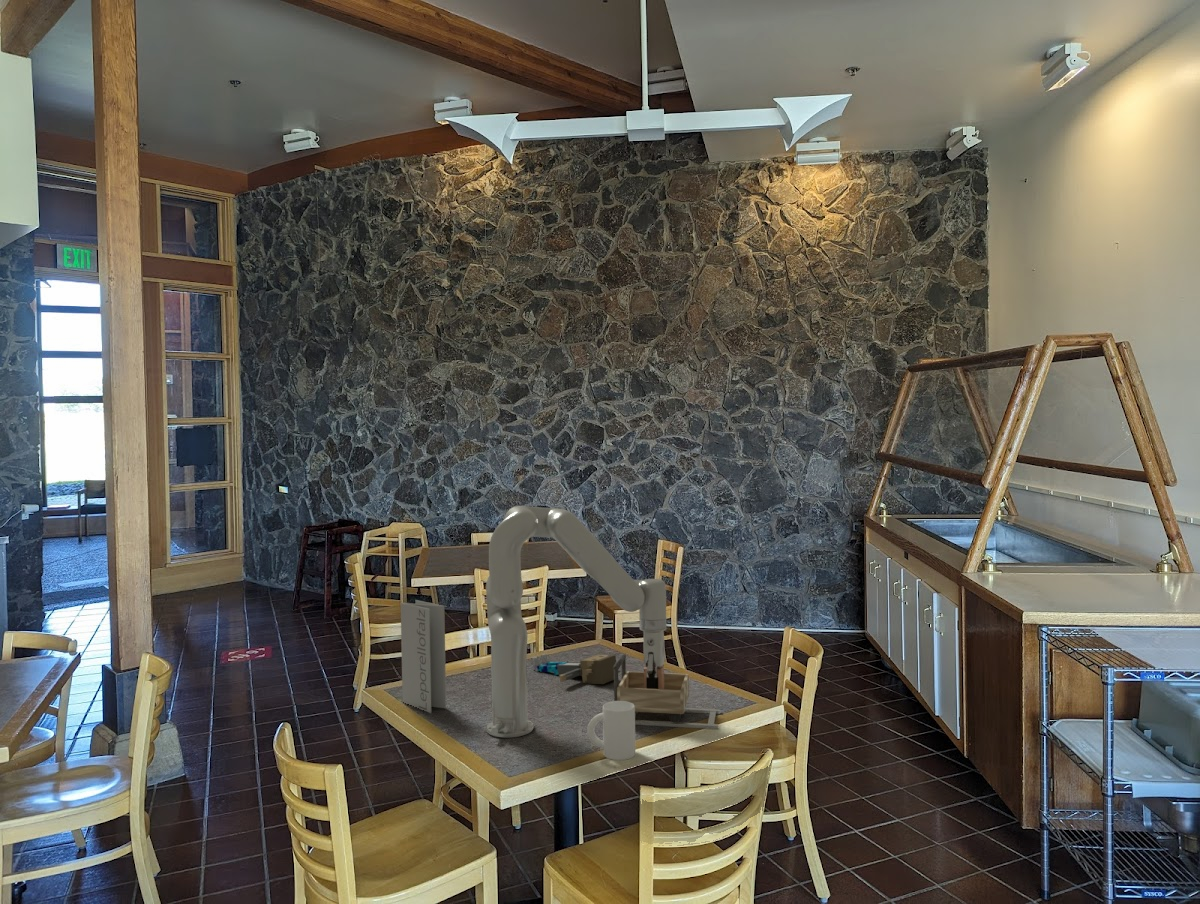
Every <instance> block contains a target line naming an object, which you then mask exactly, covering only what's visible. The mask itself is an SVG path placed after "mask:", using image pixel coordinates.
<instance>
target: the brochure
mask: <svg viewBox="0 0 1200 904" xmlns="http://www.w3.org/2000/svg"><path fill="white" fill-rule="evenodd" d="M445 621H446V620H445V605H441V604H436V603H432V602H426V601H423V600H420V599H419V600H418V599H415V603H412V602H411V603H410V602H400V629H401V630H400V638H401V639H400V640H401V642H400V644H401V646H400V647H401V681H402V682H401V683H402V684H401V685H402V687H401V688H402V694H401V695H402V703H403V702H404V703H403V704H405V703H406V704H405V705H407V704H409V705H408V706H410V705H412V706H411V707H413V706H414V707H413V708H415V707H417V708H416V709H418V708H419V709H418V710H421V711H423V710H424V712H427V713H429V714H432V708H439V709H447V678H446V677H447V676H446V675H447V673H446V631H445V629H446V626H445V625H446V624H445V623H446V622H445Z"/></svg>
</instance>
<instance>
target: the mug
mask: <svg viewBox="0 0 1200 904" xmlns="http://www.w3.org/2000/svg"><path fill="white" fill-rule="evenodd" d="M635 720H636V717H635V706H634V704H633V703H630V702H627V701H614V700H611V701H608V702H607V701H606V702H605V703H604V704H603V705H602V712H600V713H598V714H596V715H594V716H593V717H592V718H591V719H590V720H589V722H588V724H587V726H586V727H587V728H586V734H587V737H588V739H589V741H590V742H591V743H592V744H593V746H596V747H597V748H600V749H602V751H603V753H602V754H603V756H604V757H605V758H606V759H609V760H612V761H613V760H614V761H624V760H625V761H626V760H629V759H632V758H634V757H635V756H636V725H635ZM601 721H602V739H600V738H599V737H598V735H596V732H595V730H596V729H595V728H596V727H597V725H598V723H601Z"/></svg>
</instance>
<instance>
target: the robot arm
mask: <svg viewBox="0 0 1200 904" xmlns="http://www.w3.org/2000/svg"><path fill="white" fill-rule="evenodd" d="M533 537H536V538H552V539H554V540H555V542H556V543H557V544H558V545H559V546H560V547H561V548H562V550H564V551H565V552H566V553H567V555H569V556H570V558H571V559H572V560H573V561H574V562H575V563H576V564H577V566H578V567H580V568H581V570H582V571H583V572H585V573H586V574H587V575H588V576H589V577H590V578H592V579H593V580H594V581H595V582H596V583H597V584H598V585H600V587H602V588H603V590H605V591H606V593H608V595H609V596H610V598H611V600H612V601H613V602H614V603H615V604H616V605H617V606H618V607H619V608H621V609H622V610H623V611H625V612H628V613H633V612H637V611H639V614H638V615H639V618H638V619H639V630H640V631H642V632H643V665H644V667H647V677H646V680H647V689H658V677H657V666H659V668H661V667H662V665H664V663H665V661H666V650H665V633H664V632H665V631H666V630H667V586H666V582H665V581H664V580H662V579H660V578H645V579H633V577H632V576H631V575H630V574H629V573H628V572H627V571H626V570H625V569H624V567H622V565H620V564H619V562H618V561H617V560H616V559H615V558H614V557H613V556H612V554H611V553H610V552H609V551H608V550H607V548H605V546H603V545H602V543H601V542H600V541H599V540H598V539H597V538H596V536H594V534H593V533H592V532H591V531H590V530H589V529H588V528H587V527H586V526H585V525H584V523H582V521H581V520H580V519H579V518H578V517H577V515H575V514H574V513H572V512H571V511H569V510H567V509H565V508H559V507H557V508H556V507H543V506H542V507H541V506H528V505H526V506H525V505H516V506H513V507H511V508H510V509H509V510H508V511H506V513H505V515H504V519H503V520H502V521H501V522H500V523H499V524H498V525H497V527H495V529H494V530H493V533H492V534H491V536H490V541H489V544H488V572H489V574H488V575H489V576H488V578H487V580H486V584H485V585H486V586H485V593H486V610H487V611H486V614H487V624H488V625H487V626H488V630H489V634H490V644H491V646H490V647H491V648H490V656H491V658H490V659H491V660H490V665H491V666H490V667H491V668H490V669H491V671H490V672H491V673H490V674H491V710H492V711H491V712H492V713H491V715H492V721H491V722H489V723H487V725H486V732H487V733H488V734H489V735H490V736H492V737H496V738H505V739H508V738H509V739H510V738H511V739H512V738H520V737H521V736H526V735H528V734H530V733H531V732H533V730H534V725H535V724H534V723H533V722H532V721H531V720H529V718H528V709H529V708H528V707H529V706H528V668H527V667H528V665H527V663H528V661H527V658H528V657H527V652H528V650H527V649H528V628H527V625H526V623H525V620H524V618H523V617H522V614H523V613H522V601H521V600H522V597H523V594H524V586H523V580H522V568H521V557H522V556H521V552H522V547H523V546H524V544H525V542H526V541H527V540H529V539H531V538H533ZM653 664H656V666H653ZM653 669H655V671H654V670H653Z"/></svg>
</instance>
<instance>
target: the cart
mask: <svg viewBox="0 0 1200 904" xmlns="http://www.w3.org/2000/svg"><path fill="white" fill-rule="evenodd" d="M626 657H627V654H626V653H624V652H623V653H621V654H620V655H619V657H618V658H617V659H616V663H615V665H614V666H613V669H614V680H613V691H614V692H613V698H614V699H613V701H627V702H630V703H633V704H634V706H635V712H638V713H653V714H669V718H668V719H669V720H670V722H674V723H676V722H680V720H681V718H682V716H681V715H684V714H685V712H684V711H685V708H687V703H688V699H689V697H690V685H689V684H690V681H689V680H690V673H674V672H673V673H671V672H664V689H646V688H644V671H631V670H630V671H629V670H627V669H626V663H627V662H626ZM620 667H621V681H620V682H619V669H620ZM626 670H627V671H626Z"/></svg>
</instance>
